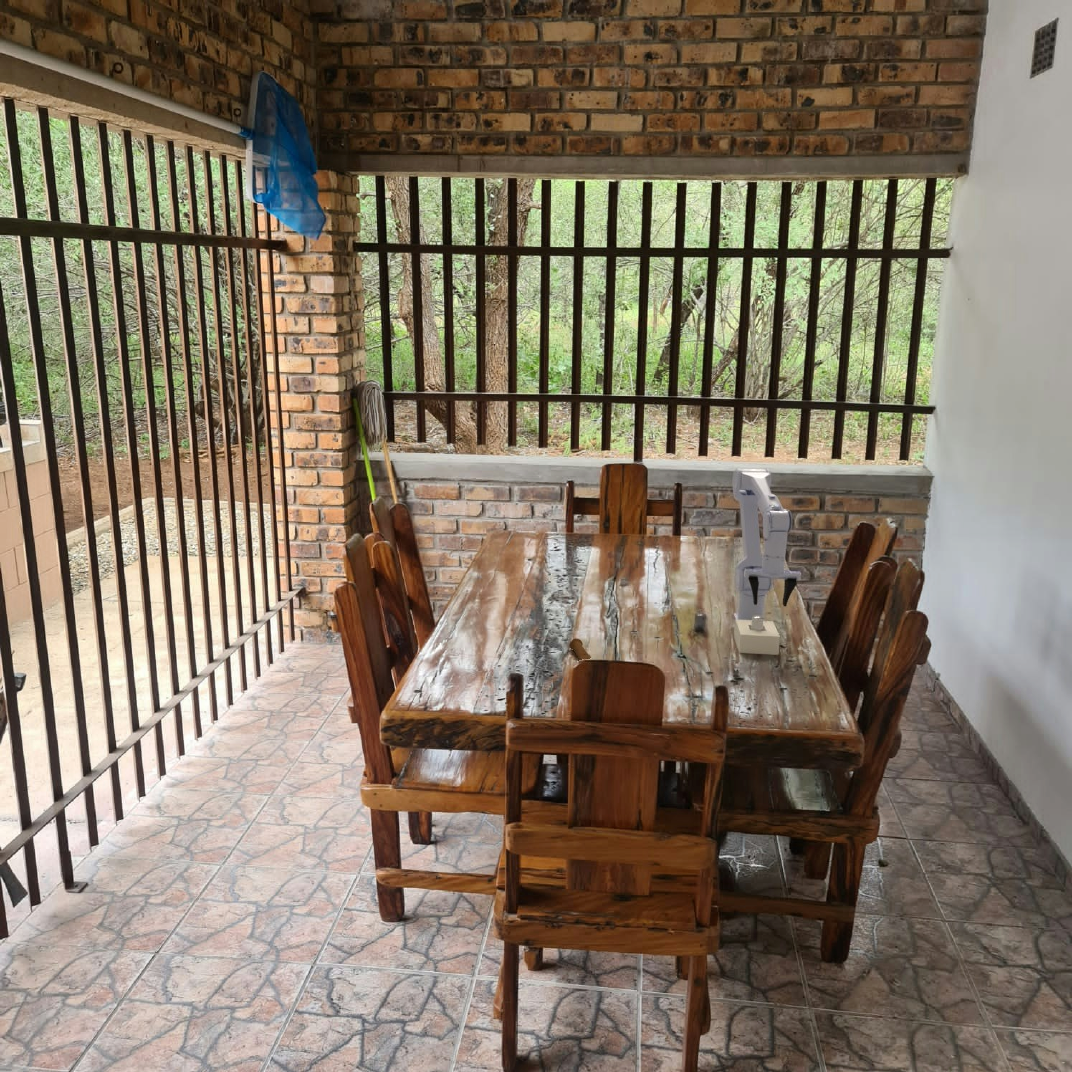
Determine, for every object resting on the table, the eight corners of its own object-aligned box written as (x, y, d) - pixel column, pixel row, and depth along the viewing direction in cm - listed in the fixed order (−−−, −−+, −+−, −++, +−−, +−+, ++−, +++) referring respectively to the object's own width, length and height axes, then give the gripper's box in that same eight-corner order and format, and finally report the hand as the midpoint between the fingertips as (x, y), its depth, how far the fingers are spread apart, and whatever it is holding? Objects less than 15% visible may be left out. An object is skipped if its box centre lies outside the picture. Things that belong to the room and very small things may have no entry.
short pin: (693, 627, 267) (694, 612, 266) (704, 628, 267) (705, 613, 266) (694, 631, 264) (695, 616, 263) (705, 632, 264) (706, 616, 263)
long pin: (748, 643, 256) (751, 615, 254) (760, 644, 256) (762, 615, 254) (750, 647, 253) (753, 618, 251) (761, 648, 253) (764, 619, 251)
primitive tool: (607, 677, 232) (607, 664, 231) (585, 679, 230) (585, 666, 229) (581, 649, 250) (581, 636, 249) (561, 651, 248) (561, 638, 247)
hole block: (733, 636, 261) (735, 619, 260) (771, 638, 260) (772, 621, 259) (739, 652, 249) (740, 634, 248) (778, 654, 248) (780, 636, 247)
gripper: (748, 557, 249) (743, 607, 253) (805, 560, 248) (800, 610, 251) (744, 550, 256) (740, 599, 259) (800, 553, 255) (795, 602, 258)
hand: (769, 604), depth 256 cm, fingers open, 7 cm apart
